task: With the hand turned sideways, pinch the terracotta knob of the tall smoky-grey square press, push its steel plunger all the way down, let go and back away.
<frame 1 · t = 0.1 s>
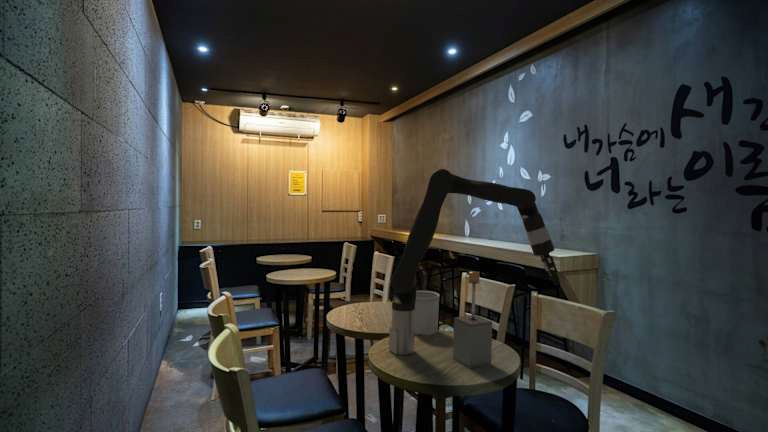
hand: (555, 282, 152), 31 cm above the table, tool tilted 20°, fingers open, 8 cm apart
plunger: (473, 302, 156), point 22 cm above the table, slide at 9.0 cm
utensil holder: (422, 331, 194), on the table
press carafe: (471, 361, 156), on the table
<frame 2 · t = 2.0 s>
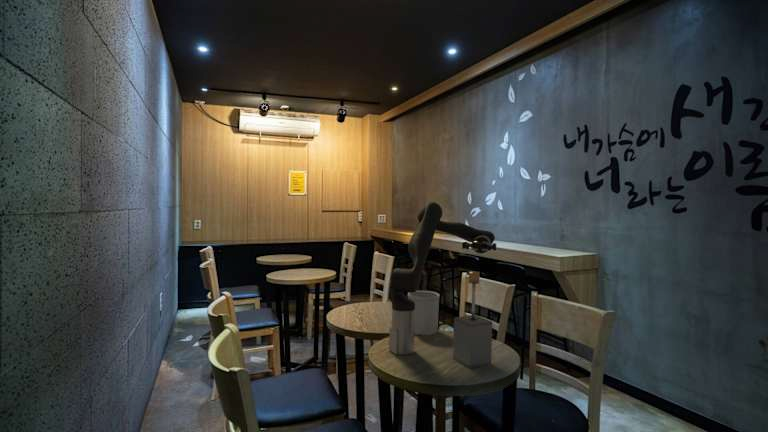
hand: (477, 247, 172), 42 cm above the table, tool horizontal, fingers open, 8 cm apart
nothing on the table moved.
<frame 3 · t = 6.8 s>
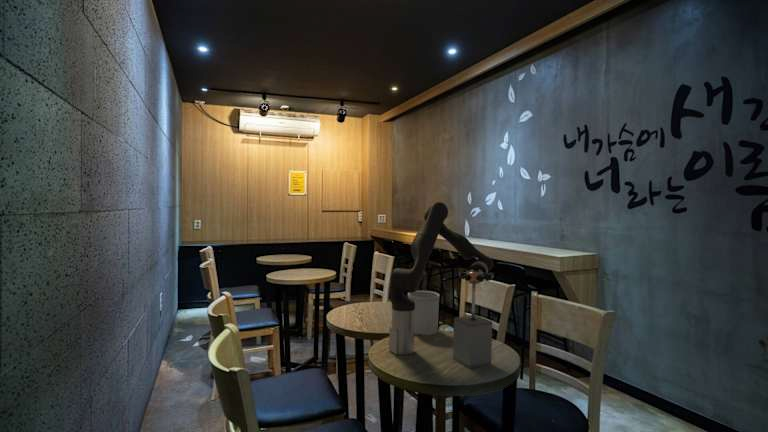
hand: (473, 278, 153), 32 cm above the table, tool horizontal, fingers closed on plunger, 4 cm apart
plunger: (473, 302, 156), point 22 cm above the table, slide at 9.0 cm, touching gripper
everything else where it was.
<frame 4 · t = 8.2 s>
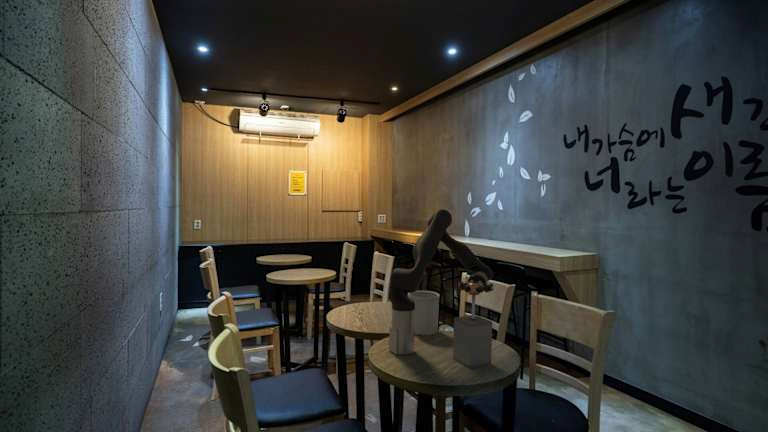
hand: (473, 290, 153), 28 cm above the table, tool horizontal, fingers closed on plunger, 4 cm apart
plunger: (473, 314, 156), point 18 cm above the table, slide at 4.7 cm, touching gripper
everything else where it was.
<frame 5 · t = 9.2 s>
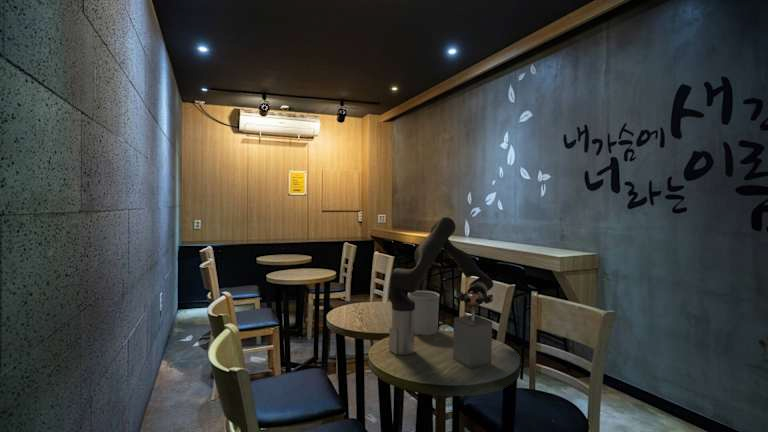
hand: (472, 301, 153), 23 cm above the table, tool horizontal, fingers closed on plunger, 4 cm apart
plunger: (472, 325, 156), point 14 cm above the table, slide at 0.4 cm, touching gripper
everything else where it was.
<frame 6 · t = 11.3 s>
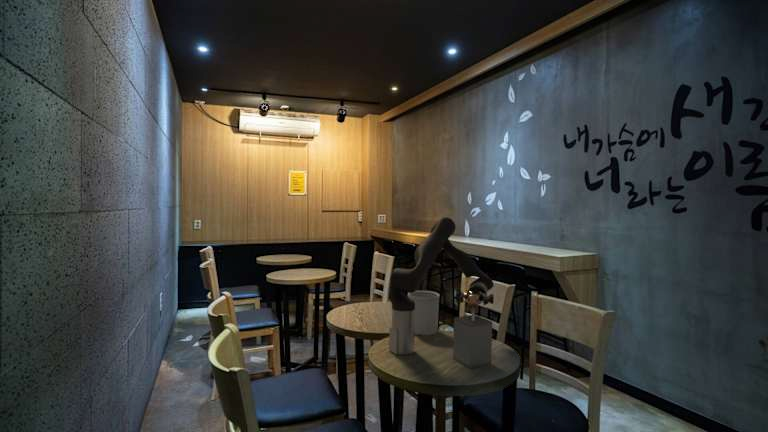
hand: (473, 301, 154), 23 cm above the table, tool horizontal, fingers open, 8 cm apart
plunger: (472, 325, 156), point 14 cm above the table, slide at 0.3 cm
everything else where it was.
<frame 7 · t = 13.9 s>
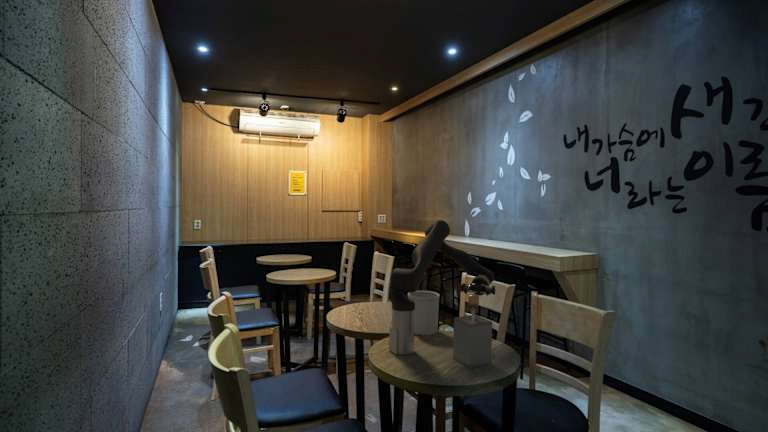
hand: (476, 292, 167), 24 cm above the table, tool horizontal, fingers open, 8 cm apart
nothing on the table moved.
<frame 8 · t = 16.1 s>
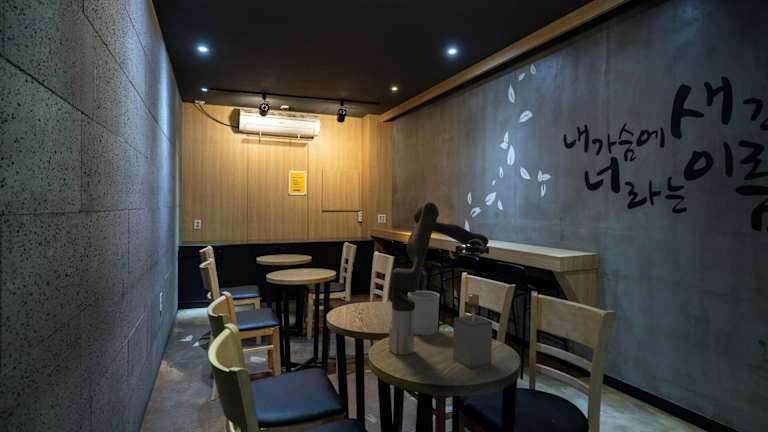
hand: (470, 251, 173), 40 cm above the table, tool horizontal, fingers open, 8 cm apart
nothing on the table moved.
at the end: plunger slide at 0.3 cm; the gripper is holding nothing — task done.
